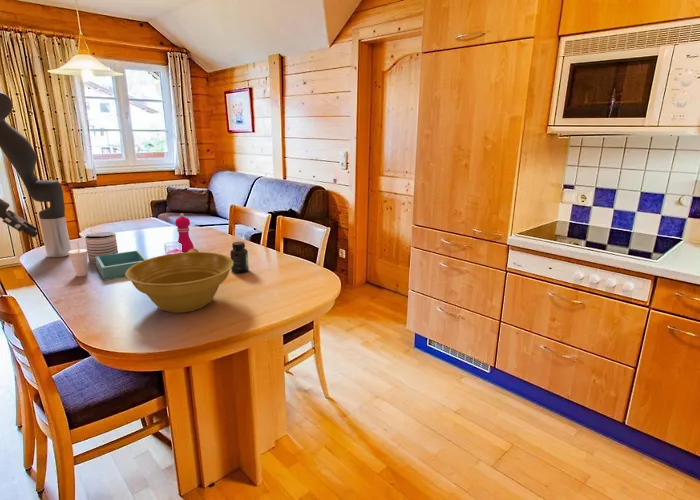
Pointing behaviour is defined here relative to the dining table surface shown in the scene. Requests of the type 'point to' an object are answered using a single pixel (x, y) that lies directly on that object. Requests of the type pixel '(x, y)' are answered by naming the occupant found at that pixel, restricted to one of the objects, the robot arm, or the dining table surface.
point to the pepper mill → (184, 233)
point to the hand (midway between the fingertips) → (35, 233)
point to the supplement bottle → (239, 258)
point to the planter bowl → (180, 279)
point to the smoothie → (79, 260)
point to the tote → (117, 263)
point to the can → (100, 244)
